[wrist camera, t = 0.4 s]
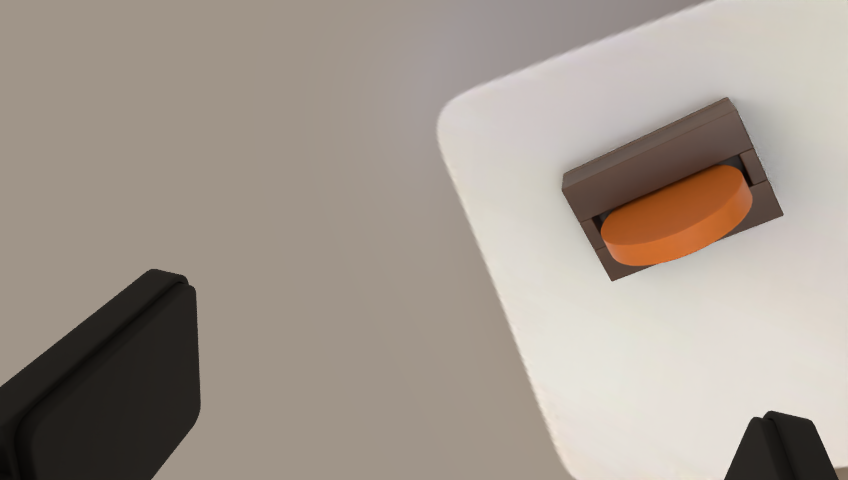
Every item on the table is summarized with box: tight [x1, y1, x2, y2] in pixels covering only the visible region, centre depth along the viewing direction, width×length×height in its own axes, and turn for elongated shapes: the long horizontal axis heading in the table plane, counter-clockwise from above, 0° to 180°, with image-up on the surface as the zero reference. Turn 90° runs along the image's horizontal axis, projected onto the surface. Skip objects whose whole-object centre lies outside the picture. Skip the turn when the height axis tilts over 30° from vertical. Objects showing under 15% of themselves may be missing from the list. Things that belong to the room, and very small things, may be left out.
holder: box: [562, 97, 783, 281], centre depth 35 cm, size 6×9×2 cm, turn 122°
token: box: [601, 165, 752, 266], centre depth 33 cm, size 1×7×7 cm, turn 121°
